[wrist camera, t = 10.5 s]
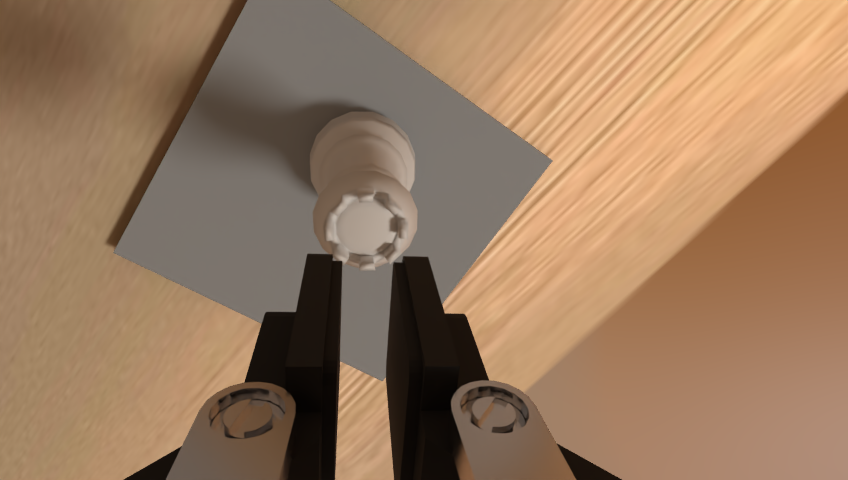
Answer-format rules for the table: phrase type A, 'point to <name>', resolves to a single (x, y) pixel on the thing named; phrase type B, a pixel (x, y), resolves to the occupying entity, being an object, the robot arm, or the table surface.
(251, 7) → the mat
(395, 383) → the robot arm
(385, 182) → the rook chess piece
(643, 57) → the table surface
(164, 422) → the table surface
